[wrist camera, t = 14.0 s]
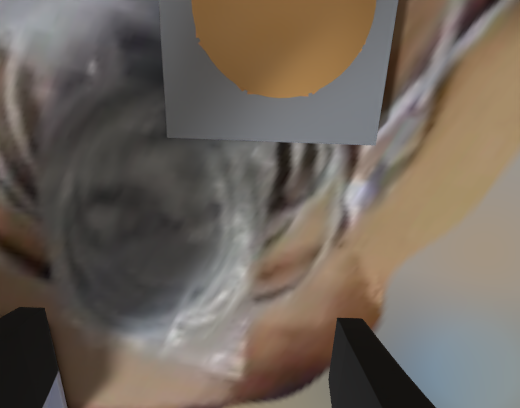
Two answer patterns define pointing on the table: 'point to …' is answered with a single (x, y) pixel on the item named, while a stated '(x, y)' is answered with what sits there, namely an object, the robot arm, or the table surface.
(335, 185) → the table surface
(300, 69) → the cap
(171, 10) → the stud block
